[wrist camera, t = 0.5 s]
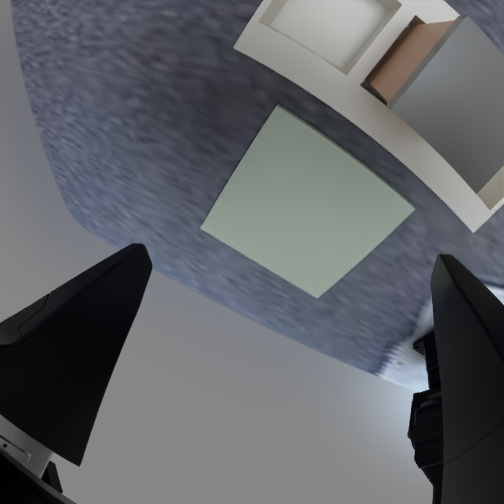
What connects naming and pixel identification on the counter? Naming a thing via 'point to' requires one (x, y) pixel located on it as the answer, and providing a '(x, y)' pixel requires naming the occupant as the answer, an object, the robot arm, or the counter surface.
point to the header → (362, 78)
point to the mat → (304, 205)
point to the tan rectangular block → (449, 93)
